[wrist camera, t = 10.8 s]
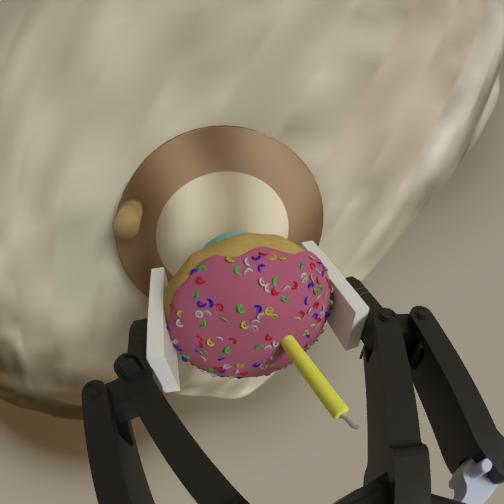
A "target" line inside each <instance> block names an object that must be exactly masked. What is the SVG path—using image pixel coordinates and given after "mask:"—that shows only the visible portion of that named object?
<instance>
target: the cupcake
mask: <svg viewBox="0 0 504 504" xmlns="http://www.w3.org/2000/svg"><path fill="white" fill-rule="evenodd" d="M327 271H328V268H327V267H326V266H324V264H323V263H322V261H321V260H320V259H319V258H318V257H317V256H316V255H315V254H314V253H312V252H310V251H307V250H306V251H305V250H303V249H302V248H301V247H299V246H298V245H296V244H295V243H293V242H291V241H290V240H288V239H286V238H284V237H282V236H279V235H273V234H258V233H249V232H244V231H232V232H227V233H224V234H221V235H219V236H217V237H215V238H213V239H212V240H210V241H209V242H208V243H207V244H206V245H205V246H204V247H203V249H201V250H199V251H196V252H195V253H193V254H192V255H191V256H190V257H189V258H188V259H187V260H186V261H185V263H184V264H183V265H182V266H181V268H180V269H179V270H178V272H177V273H176V274H175V275H174V276H173V278H172V279H171V280H170V282H169V283H168V285H167V287H166V291H165V300H164V311H165V317H166V322H167V326H168V327H166V328H167V329H168V331H169V335H170V338H171V342H173V345H174V346H175V347H176V348H177V350H178V351H179V352H180V353H181V355H182V360H183V361H184V362H187V361H189V362H190V363H191V365H192V366H193V365H195V366H196V367H197V368H199V369H200V370H201V371H202V372H204V371H205V372H206V373H207V374H208V372H209V373H210V374H211V376H213V377H216V376H220V377H229V378H238V379H240V378H244V377H258V376H263V375H265V376H268V375H270V374H271V373H272V372H274V371H277V370H279V369H281V368H286V367H287V366H288V365H290V364H292V363H294V364H295V366H296V367H297V368H298V370H299V371H300V373H301V374H302V375H303V377H304V378H305V380H306V381H307V382H308V384H309V385H310V387H311V388H312V389H313V391H314V392H315V393H316V395H317V396H318V398H319V399H320V401H321V402H322V403H323V404H324V406H325V407H326V409H327V410H328V412H329V413H330V414H331V416H332V417H333V418H334V419H339V418H343V419H344V420H345V421H346V422H347V423H348V424H349V426H350V427H352V428H354V429H358V428H359V426H358V425H357V424H355V423H354V422H353V420H352V419H351V418H350V417H349V416H348V415H346V413H347V412H348V411H349V409H348V407H347V406H346V404H345V403H344V402H343V401H342V399H341V398H340V397H339V396H338V394H337V393H336V392H335V390H334V389H333V388H332V387H331V385H330V384H329V383H328V381H327V380H326V379H325V378H324V376H323V375H322V374H321V372H320V371H319V370H318V369H317V367H316V366H315V365H314V363H313V362H312V361H311V359H310V358H309V357H308V356H307V354H306V353H305V352H306V350H308V349H309V347H310V346H311V345H313V344H314V343H315V341H318V340H316V339H317V338H318V336H319V335H320V334H321V333H323V332H324V329H323V326H324V324H325V323H326V320H327V317H329V316H330V315H331V311H332V310H329V309H330V308H331V306H332V304H333V302H332V300H331V296H332V295H333V287H332V286H331V282H330V280H329V276H328V272H327ZM331 293H332V294H331ZM321 330H323V331H322V332H321ZM320 332H321V333H320ZM184 359H185V360H184ZM214 375H215V376H214Z"/></svg>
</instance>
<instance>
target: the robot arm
mask: <svg viewBox="0 0 504 504" xmlns="http://www.w3.org/2000/svg"><path fill="white" fill-rule="evenodd" d="M301 248H302V249H303V250H305V251H306V250H307V251H310V252H312V253H314V254H315V255H316V256H317V257H318V258H319V259H320V260H321V261H322V263H323V264H324V266H326V267H327V268H328V271H327V272H328V276H329V280H330V282H331V286H332V287H333V295H332V296H331V300H332V302H333V304H332V306H331V308H330V309H329V310H332V311H331V315H330V316H329V317H327V322H328V323H329V325H330V326H331V328H332V329H333V331H334V333H335V334H336V336H337V338H338V339H339V341H340V342H341V344H342V345H343V347H344V349H345V350H349V349H352V348H355V347H358V345H359V342H360V339H361V340H362V342H363V343H364V346H363V349H362V352H361V355H360V359H362V356H363V358H364V369H365V383H366V398H367V424H368V464H367V468H366V471H365V475H364V484H363V487H361V488H359V489H357V490H355V491H353V492H351V493H350V494H348V495H346V496H344V497H343V498H341V499H339V500H338V501H336V502H335V503H333V504H484V503H485V501H486V500H487V499H488V498H489V496H490V495H491V494H492V493H493V491H494V490H495V489H496V488H497V486H498V485H499V484H501V483H502V482H504V437H503V436H502V435H501V434H500V433H499V431H498V430H497V429H496V427H495V424H494V422H493V420H492V418H491V416H490V413H489V411H488V409H487V407H486V405H485V403H484V401H483V399H482V397H481V395H480V393H479V391H478V389H477V387H476V386H475V384H474V382H473V380H472V378H471V376H470V375H469V373H468V371H467V369H466V367H465V366H464V364H463V362H462V360H461V359H460V357H459V355H458V354H457V352H456V350H455V349H454V347H453V345H452V344H451V342H450V341H449V339H448V337H447V336H446V334H445V333H444V331H443V329H442V328H441V326H440V325H439V323H438V322H437V320H436V319H435V317H434V316H433V314H432V313H431V312H430V310H429V309H427V308H425V307H422V306H415V307H413V308H412V309H411V311H410V314H396V313H395V312H394V311H393V310H391V309H387V308H382V306H381V305H380V304H379V303H378V302H377V300H376V299H375V298H374V297H373V296H372V295H371V294H370V293H369V292H368V290H367V289H366V288H365V287H364V285H363V284H362V283H361V282H360V281H359V280H357V279H356V278H354V277H348V278H344V277H343V275H342V274H341V273H340V272H339V271H338V269H337V268H336V267H335V266H334V265H333V263H332V262H331V261H330V260H329V259H328V258H327V256H326V255H325V254H324V253H323V252H322V251H321V250H320V248H319V247H318V246H317V245H316V244H315V243H314V241H313V240H312V241H307V242H301ZM167 285H168V280H167V277H166V273H165V269H164V267H160V268H154V269H151V279H150V291H149V306H148V319H142V320H135V321H134V322H133V324H132V325H131V327H130V331H129V344H128V353H124V354H122V355H120V356H119V357H118V358H117V359H116V361H115V363H114V371H115V373H116V374H117V376H118V377H119V378H118V379H116V380H115V381H112V382H110V383H107V384H104V383H103V382H102V381H99V380H93V381H90V382H88V383H87V384H86V385H85V386H84V388H83V390H82V408H83V419H84V429H85V437H86V444H87V451H88V457H89V463H90V468H91V473H92V478H93V483H94V487H95V491H96V496H97V500H98V503H99V504H155V503H154V500H153V497H152V494H151V492H150V489H149V486H148V483H147V480H146V476H145V473H144V470H143V467H142V464H141V460H140V456H139V453H138V449H137V445H136V441H135V437H134V433H133V429H132V425H131V419H133V418H135V417H138V416H140V418H141V420H142V422H143V423H144V425H145V427H146V429H147V430H148V432H149V434H150V436H151V437H152V439H153V441H154V442H155V444H156V445H157V447H158V449H159V450H160V452H161V453H162V455H163V456H164V458H165V459H166V461H167V462H168V464H169V465H170V467H171V468H172V470H173V471H174V473H175V474H176V475H177V477H178V478H179V480H180V481H181V482H182V484H183V485H184V486H185V488H186V489H187V490H188V492H189V493H190V494H191V496H192V497H193V498H194V499H195V500H196V502H197V503H198V504H250V503H249V502H248V501H246V500H245V499H244V498H243V497H242V496H241V494H240V493H239V492H238V491H237V490H236V489H235V488H234V487H233V486H232V485H231V484H230V483H229V481H228V480H226V478H225V477H224V476H223V475H222V473H221V472H220V471H219V470H218V469H217V468H216V466H215V465H214V464H213V463H212V462H211V460H210V459H209V458H208V457H207V455H206V454H205V453H204V452H203V450H202V449H201V448H200V447H199V445H198V444H197V443H196V441H195V440H194V439H193V437H192V436H191V435H190V433H189V432H188V430H187V429H186V428H185V426H184V425H183V423H182V422H181V421H180V419H179V418H178V416H177V415H176V414H175V412H174V411H173V409H172V408H171V406H170V405H169V403H168V402H167V400H166V398H165V397H164V395H163V393H162V388H163V390H164V391H165V393H166V392H174V391H180V381H179V371H178V360H177V348H176V347H175V346H174V345H173V342H171V338H170V335H169V331H168V329H167V328H166V327H168V326H167V322H166V317H165V311H164V300H165V291H166V287H167ZM331 294H332V293H331ZM413 384H414V386H415V388H416V390H417V393H418V395H419V397H420V400H421V402H422V405H423V407H424V409H425V412H426V414H427V417H428V419H429V421H430V424H431V426H432V429H433V432H434V434H435V437H436V440H437V442H438V445H439V447H440V450H441V453H442V456H443V458H444V461H445V463H446V465H447V467H448V469H449V470H450V472H451V473H452V475H453V476H452V479H451V480H450V481H449V487H450V488H451V489H454V493H455V495H454V499H453V500H452V499H448V498H444V497H441V496H438V495H434V494H431V478H430V460H429V451H428V448H427V446H426V445H425V444H423V443H422V442H421V438H420V429H419V420H418V413H417V406H416V399H415V393H414V387H413Z"/></svg>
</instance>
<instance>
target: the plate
mask: <svg viewBox="0 0 504 504" xmlns="http://www.w3.org/2000/svg"><path fill="white" fill-rule="evenodd" d="M322 228H323V205H322V198H321V194H320V191H319V188H318V185H317V183H316V181H315V179H314V176H313V174H312V173H311V171H310V170H309V168H308V167H307V165H306V164H305V163H304V162H303V161H302V160H301V158H300V157H299V156H298V155H297V154H296V153H295V152H293V151H292V150H291V149H290V148H288V147H287V146H286V145H284V144H283V143H281V142H279V141H278V140H276V139H274V138H272V137H270V136H268V135H265V134H263V133H260V132H258V131H255V130H251V129H247V128H243V127H237V126H226V125H224V126H209V127H204V128H199V129H194V130H191V131H189V132H186V133H183V134H180V135H178V136H176V137H174V138H172V139H170V140H169V141H167V142H165V143H164V144H163V145H161V146H160V147H158V148H157V149H156V150H154V151H153V152H152V153H151V154H150V155H149V156H148V157H147V158H146V159H145V160H144V161H143V162H142V163H141V165H140V166H139V167H138V169H137V170H136V171H135V173H134V174H133V176H132V178H131V180H130V181H129V183H128V185H127V187H126V188H125V190H124V193H123V195H122V198H121V201H120V203H119V207H118V212H117V216H116V218H115V221H114V223H113V229H114V232H115V233H116V243H117V248H118V252H119V256H120V259H121V261H122V264H123V266H124V268H125V270H126V272H127V273H128V275H129V277H130V278H131V280H132V281H133V282H134V283H135V285H136V286H137V287H138V288H139V289H140V290H141V291H142V292H143V293H144V294H145V295H146V296H147V297H149V291H150V279H151V269H154V268H160V267H164V269H165V273H166V277H167V280H168V283H169V282H170V280H171V279H172V278H173V276H174V275H175V274H176V273H177V272H178V270H179V269H180V268H181V266H182V265H183V264H184V263H185V261H186V260H187V259H188V258H189V257H190V256H191V255H192V254H193V253H195V252H196V251H199V250H201V249H203V247H204V246H205V245H206V244H207V243H208V242H209V241H210V240H212V239H213V238H215V237H217V236H219V235H221V234H224V233H227V232H232V231H244V232H249V233H258V234H273V235H279V236H282V237H284V238H286V239H288V240H290V241H291V242H293V243H295V244H296V245H298V246H299V247H301V242H307V241H312V240H313V241H314V243H315V244H316V245H317V246H318V245H319V242H320V238H321V234H322Z"/></svg>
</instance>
